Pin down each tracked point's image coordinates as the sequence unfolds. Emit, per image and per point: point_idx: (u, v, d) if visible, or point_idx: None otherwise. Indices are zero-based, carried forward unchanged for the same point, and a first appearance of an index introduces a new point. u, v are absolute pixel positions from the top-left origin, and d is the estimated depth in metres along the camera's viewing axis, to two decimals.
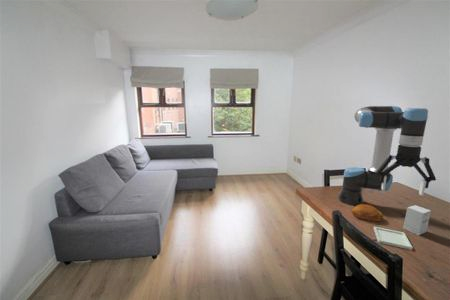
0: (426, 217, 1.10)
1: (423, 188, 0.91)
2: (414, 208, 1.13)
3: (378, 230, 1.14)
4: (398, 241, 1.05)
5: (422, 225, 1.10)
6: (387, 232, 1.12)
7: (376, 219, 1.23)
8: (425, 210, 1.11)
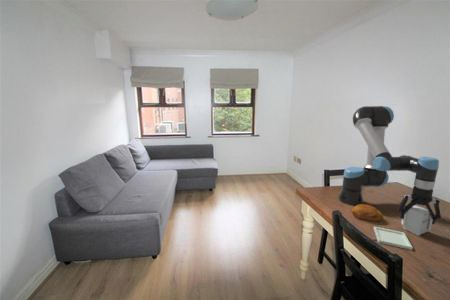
0: (426, 217, 1.10)
1: (430, 224, 1.10)
2: (414, 208, 1.13)
3: (378, 230, 1.14)
4: (398, 241, 1.05)
5: (422, 225, 1.10)
6: (387, 232, 1.12)
7: (376, 219, 1.23)
8: (425, 210, 1.11)
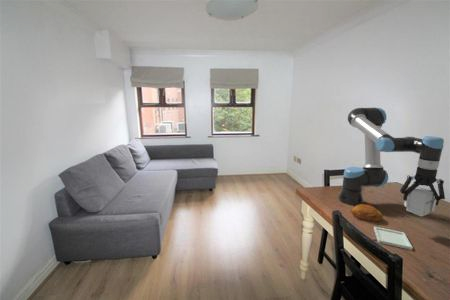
0: (429, 198, 1.08)
1: (434, 205, 1.08)
2: (418, 189, 1.10)
3: (378, 230, 1.14)
4: (398, 241, 1.05)
5: (426, 206, 1.08)
6: (387, 232, 1.12)
7: (375, 219, 1.23)
8: (429, 191, 1.09)
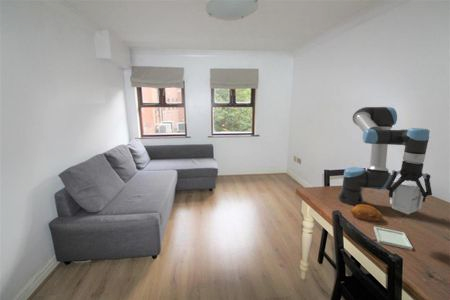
0: (416, 194, 1.00)
1: (420, 202, 1.01)
2: (404, 185, 1.03)
3: (378, 230, 1.14)
4: (398, 241, 1.05)
5: (412, 203, 1.00)
6: (387, 232, 1.12)
7: (375, 219, 1.23)
8: (415, 187, 1.01)
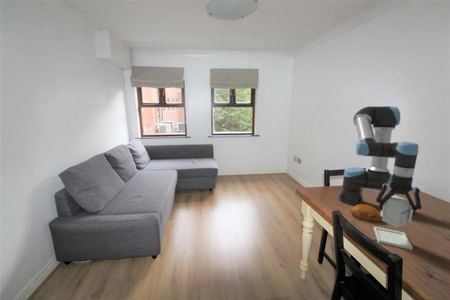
0: (405, 207, 1.01)
1: (410, 215, 1.02)
2: (394, 198, 1.04)
3: (378, 230, 1.14)
4: (398, 241, 1.05)
5: (402, 217, 1.01)
6: (387, 232, 1.12)
7: (375, 219, 1.23)
8: (405, 200, 1.02)
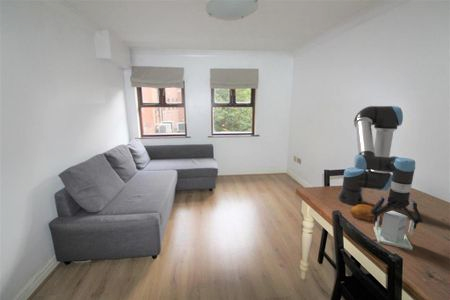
0: (402, 224, 1.03)
1: (412, 228, 1.02)
2: (391, 214, 1.06)
3: (378, 230, 1.14)
4: (398, 241, 1.05)
5: (399, 232, 1.03)
6: None
7: None
8: (402, 216, 1.04)
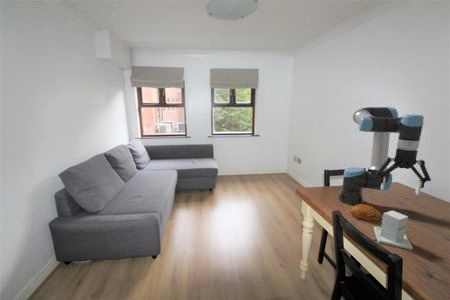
0: (402, 224, 1.03)
1: (419, 188, 0.99)
2: (391, 214, 1.06)
3: (378, 230, 1.14)
4: (398, 241, 1.05)
5: (399, 232, 1.03)
6: None
7: (374, 219, 1.23)
8: (402, 216, 1.04)
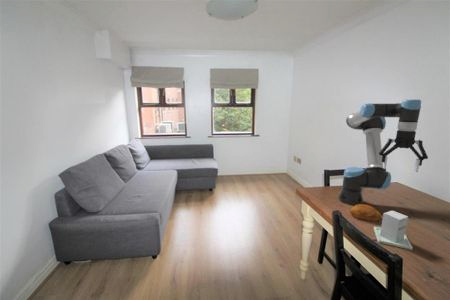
0: (402, 224, 1.03)
1: (417, 165, 1.10)
2: (391, 214, 1.06)
3: (378, 230, 1.14)
4: (398, 241, 1.05)
5: (399, 232, 1.03)
6: None
7: (374, 219, 1.23)
8: (402, 216, 1.04)
